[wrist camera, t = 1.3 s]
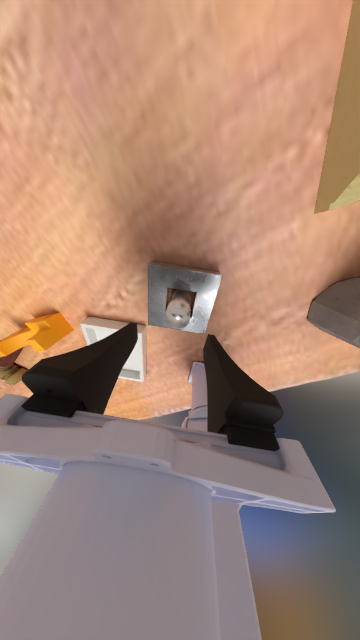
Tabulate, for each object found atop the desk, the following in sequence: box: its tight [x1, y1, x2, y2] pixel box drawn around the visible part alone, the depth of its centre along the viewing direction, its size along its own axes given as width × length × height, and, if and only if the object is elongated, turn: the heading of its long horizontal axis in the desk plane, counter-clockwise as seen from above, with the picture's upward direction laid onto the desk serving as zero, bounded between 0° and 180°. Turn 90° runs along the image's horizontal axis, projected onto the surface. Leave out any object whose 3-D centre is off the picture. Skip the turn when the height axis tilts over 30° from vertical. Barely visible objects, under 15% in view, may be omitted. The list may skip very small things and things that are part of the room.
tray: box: [80, 317, 147, 382], centre depth 29 cm, size 12×16×2 cm
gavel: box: [0, 347, 28, 385], centre depth 33 cm, size 21×5×10 cm
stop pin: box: [164, 289, 191, 329], centre depth 19 cm, size 3×3×7 cm
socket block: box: [148, 261, 222, 334], centre depth 21 cm, size 10×10×2 cm
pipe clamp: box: [0, 313, 74, 357], centre depth 25 cm, size 12×4×6 cm, turn 104°
